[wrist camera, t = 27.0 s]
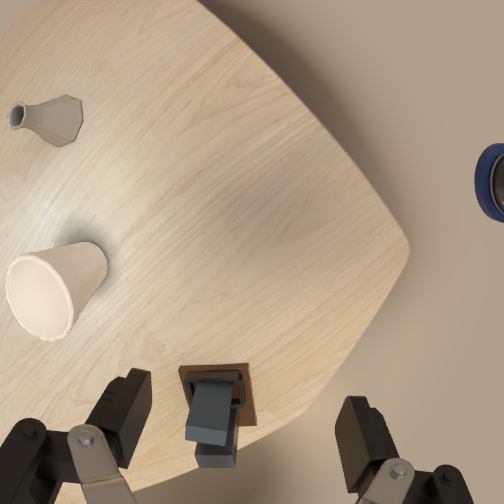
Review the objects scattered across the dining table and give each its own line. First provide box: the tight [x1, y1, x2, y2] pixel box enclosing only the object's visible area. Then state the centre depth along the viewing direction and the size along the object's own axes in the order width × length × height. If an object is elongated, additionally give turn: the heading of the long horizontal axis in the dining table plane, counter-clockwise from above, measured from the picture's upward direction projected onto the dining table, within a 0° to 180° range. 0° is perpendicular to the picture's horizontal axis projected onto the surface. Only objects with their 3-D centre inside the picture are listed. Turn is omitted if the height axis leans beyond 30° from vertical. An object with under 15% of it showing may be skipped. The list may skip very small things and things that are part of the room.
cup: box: [5, 242, 108, 342], centre depth 34 cm, size 10×10×13 cm
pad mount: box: [178, 363, 257, 468], centre depth 40 cm, size 10×12×11 cm
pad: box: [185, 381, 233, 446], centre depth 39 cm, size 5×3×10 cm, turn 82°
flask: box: [7, 95, 82, 147], centre depth 30 cm, size 7×7×10 cm
